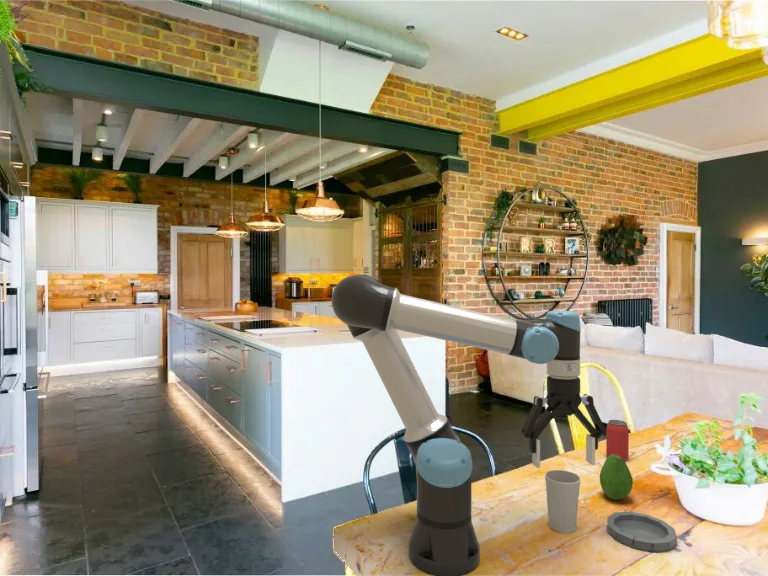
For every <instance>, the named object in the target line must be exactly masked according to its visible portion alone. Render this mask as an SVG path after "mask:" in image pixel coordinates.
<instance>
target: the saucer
mask: <svg viewBox="0 0 768 576" xmlns="http://www.w3.org/2000/svg"><path fill="white" fill-rule="evenodd" d="M606 524H607V525H606V529H607V533H608V534H609V535H610V536H611V537H612V538H613V539H614V540H615V541H617V543H620V544H622V545H624V546H627V547H630V548H631V549H635V550H639V551H643V552H649V553H664V552H668V551H671V550H673V549H674V548H675V547H676V544H677V542H678V541H677V539H678V538H677V533H676V530H675V528H674V527H673V526H671V525H670V524H668V523H667V522H666V521H665V520H663V519H660V518H658V517H655V516H652V515H649V514H646V513H642V512H641V513H640V512H635V511H615V512H613V513H612V514H610V515H608V516H607V517H606Z"/></svg>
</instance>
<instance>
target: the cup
mask: <svg viewBox="0 0 768 576" xmlns="http://www.w3.org/2000/svg"><path fill="white" fill-rule="evenodd" d="M544 479H545V489H546V490H545V491H546V503H547V504H546V505H547V517H548V527H549V528H550V529H552V530H553V531H556V532H559V533H562V534H564V533H565V534H569V533H574V532H575V531H576V530H577V521H578V520H577V519H578V509H579V508H578V507H579V497H580V487H581V477H580V476H579V475H578V474H577V473H575V472H572V471H568V470H563V469H552V470H548V471H546V472H545V473H544Z"/></svg>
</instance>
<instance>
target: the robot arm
mask: <svg viewBox="0 0 768 576" xmlns="http://www.w3.org/2000/svg"><path fill="white" fill-rule="evenodd" d="M331 306H332V310H333V312H334V314H335V316H336V317H337V319H339V321H341V322H342V323H344V324H346V326H347V328H348V329H349V332H350V333H351V336H352V338H353V339H355V340H358V341H360V342H362V343H363V346H364V348H365V350H366V352H367V354H368V356H369V358H370V359H371V361H372V363H373V364H372V365H374V368H375V370H376V372H377V374H378V376H379V378H380V380H381V383H383V386H384V388H385V390H386V392H387V394H388V396H389V398H390V400H391V402H392V405H393V406H394V408H395V410H396V412H397V414H398V416H399V418H400V420H401V422H402V424H403V425H404V428H405V432H404V436H403V440H404V442H405V444H406V446H407V448H408V451H409V452H410V454H411V457H412V458H413V461H414V463H415V472H416V473H415V474H416V521H415V522H414V526H413V529H412V532H411V536H410V539H409V542H408V557H409V560H410V561H411V562H412V564H413V565H414V566H415V567H416V568H418V569H419V570H421V571H423V572H425V573H428V574H431V575H435V576H461V575H464V574H468V573H470V572H472V571H473V570H475V569H476V567H478V565H479V563H480V560H481V556H480V555H481V548H480V544H479V541H478V537H477V534H476V531H475V528H474V524H473V520H472V472H473V467H474V466H473V461H472V453H471V451H470V449H469V448H468V447H467V445H465V444H464V443H462V442H461V440H460V437H459V436H458V435H457V434H456V432H455V431H454V429H453V427H452V425H451V424H450V422H449V420H448V419H449V418H448V417H447V416H446V415H443V414H440V413H438V411H437V409H436V407H435V405H434V404H433V401H432V399H431V397H430V395H429V393H428V391H427V389H426V387H425V384H424V383H423V381H422V379H421V377H420V375H419V373H418V371H417V369H416V367H415V365H414V363H413V361H412V359H411V357H410V355H409V352H408V351H407V349H406V347H405V345H404V343H403V341H402V338H401V337H400V335H399V333H398V331H397V330H399V331H403V332H406V333H412V334H416V335H420V336H425V337H430V338H434V339H438V340H442V341H446V342H451V343H455V344H458V345H459V344H460V345H465V346H469V347H472V348H477V349H481V350H487V351H490V352H494V353H495V352H496V353H500V354H503V355H509V356H511V357H515V358H520V359H525V360H526V361H529V362H530V363H533V364H537V365H544V364H546V374H547V377H546V393H547V394H546V396H545V397H539V396H538V395H534V397H533V403H532V407H531V408H530V411H529V413H528V415H527V418H526V419H525V422H524V424H523V426H522V428H521V430H520V435H522V436H523V437H524V438H526V439H528V450H529V452H530V453H531V455H532V456H531V458H532V463H531V464H532V465H533V466H534V467H535V468H536V469H541V440H540V439H538V438H539V437H540V435H541V434H542V432H543V431H544V430H545V429H546V427H548V425H549V424H550V423H551V421H552V420H553V419H555V418H556V417H557V416H558V417H564V416H569V417H571V416H572V415H574V417H576V419H577V420H578V422H580V423H581V424H582V426H583V427H584V428H585V430H586V431H587V432H588V433H586V434H585V448H586V449H585V461H586V462H587V463H589V465H592V466H595V465H596V451H597V450H598V449H599V439H600V438H601V437H602V434H603V435H605V434H607V428H606V427H605V425H604V423H603V421H602V419H601V417H600V415H599V413H598V410H597V409H596V407H595V403H594V397H593V396H591V395H590V394H587V393H584V394H583V395H580V394H581V379H580V377H579V376H580V375H581V333H582V331H581V321H580V320H581V319H580V315H579V313H577V312H576V311H571V310H551V311H547V313H546V315H545V316H546V317H545V319H512V318H511V319H510V318H507V317H502V316H497V315H493V314H488V313H484V312H480V311H476V310H473V309H472V310H471V309H466V308H463V307H459V306H454V305H450V304H446V303H441V302H436V301H432V300H429V299H423V298H419V297H416V296H411V295H407V294H403V293H400V291H399V289H398V288H397V287H394V286H393V287H392V286H388V285H385V284H382V283H381V282H380V281H379V280H378V279H377V278H376V277H374V276H372V275H369V274H363V273H360V274H352V275H348V276H346V277H345V278H343V279H342V280H340V281H339V282H338V283H337V284H336V285H335V288H334V289H333V292H332V295H331ZM581 404H583V405H584V407H585V409H586V411H587V413H588V415H589V417H590V420H591V422H592V423H593V424H592V423H591V422H590V421H589V420H588V418H587V417H586V416H585V415H584V413H583V412H582V411H581V410H580V405H581ZM545 405H547V407H546V408H545V410H543V407H545ZM542 410H543V411H544V412H543V414H541V413H542ZM540 414H541V417H540Z"/></svg>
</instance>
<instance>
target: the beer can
mask: <svg viewBox="0 0 768 576" xmlns="http://www.w3.org/2000/svg"><path fill="white" fill-rule="evenodd" d="M629 433H630V431H629V427H628V423H627V422H626V421H624V420H619V419H610V420H608V422H607V424H606V437H605V439H606V441H605V442H606V445H605V447H606V448H605V449H606V451H605V452H606V453H605V456H606V458H607V457H608V456H610V455H612V454H617V455H619V456H620V457H621V458H623V459H624V461H625V462H627V461H628V460H629V453H630V452H629V450H630V449H629V447H630V445H629V443H630V442H629V440H630V439H629Z"/></svg>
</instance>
